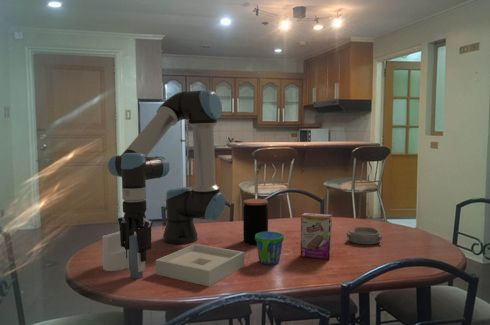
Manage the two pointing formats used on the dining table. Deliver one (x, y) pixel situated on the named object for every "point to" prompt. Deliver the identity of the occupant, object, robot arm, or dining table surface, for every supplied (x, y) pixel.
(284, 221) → the dining table surface
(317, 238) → the candy bar box
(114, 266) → the white stepped block
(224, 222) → the dining table surface
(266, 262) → the snack cup
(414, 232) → the dining table surface
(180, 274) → the beige square tray
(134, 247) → the peg
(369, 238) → the dish
